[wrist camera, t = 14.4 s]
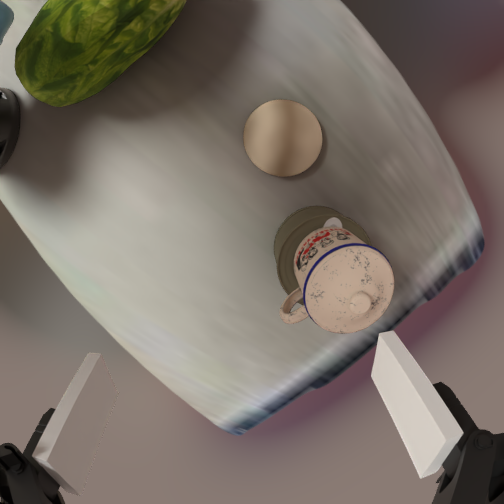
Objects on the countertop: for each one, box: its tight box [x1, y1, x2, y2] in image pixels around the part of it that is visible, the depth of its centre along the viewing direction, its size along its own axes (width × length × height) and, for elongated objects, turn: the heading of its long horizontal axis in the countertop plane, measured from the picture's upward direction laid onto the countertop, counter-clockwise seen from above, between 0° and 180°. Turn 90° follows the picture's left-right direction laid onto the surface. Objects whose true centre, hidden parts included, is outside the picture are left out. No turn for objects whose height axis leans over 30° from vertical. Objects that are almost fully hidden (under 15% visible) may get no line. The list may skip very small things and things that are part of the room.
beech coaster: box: [243, 99, 322, 177], centre depth 37 cm, size 10×10×1 cm
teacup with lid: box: [280, 226, 394, 333], centre depth 30 cm, size 12×9×12 cm
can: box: [274, 206, 372, 305], centre depth 39 cm, size 12×12×7 cm
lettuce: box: [15, 0, 187, 107], centre depth 24 cm, size 15×27×16 cm, turn 127°
